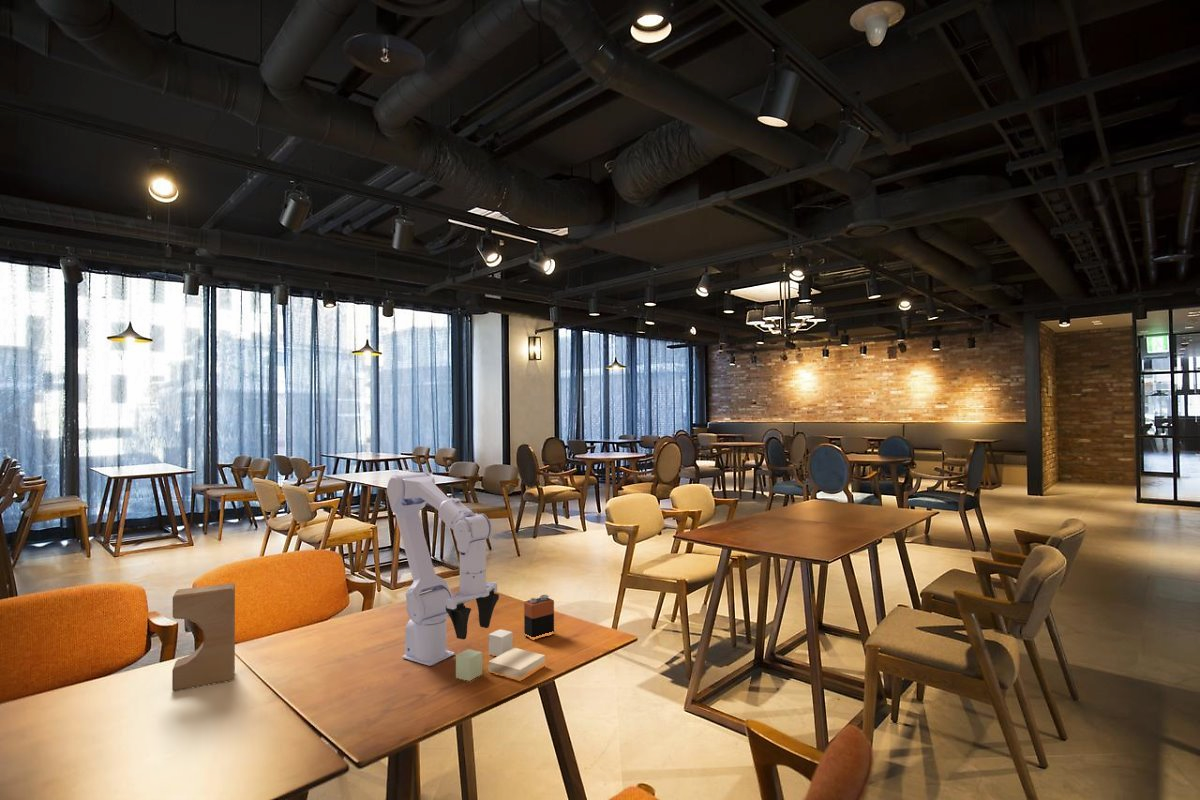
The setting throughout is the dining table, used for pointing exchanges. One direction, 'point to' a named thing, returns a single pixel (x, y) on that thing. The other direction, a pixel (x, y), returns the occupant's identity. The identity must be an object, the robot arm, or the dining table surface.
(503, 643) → the grey block
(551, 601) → the battery
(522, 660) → the birch base block
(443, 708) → the dining table surface
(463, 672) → the sage block
